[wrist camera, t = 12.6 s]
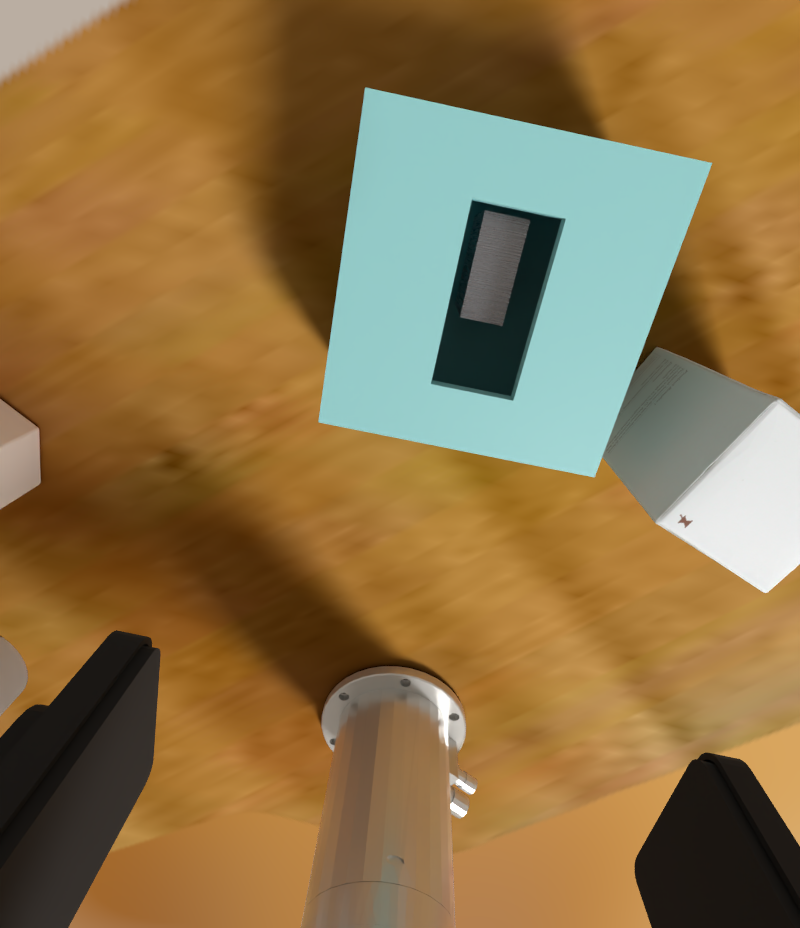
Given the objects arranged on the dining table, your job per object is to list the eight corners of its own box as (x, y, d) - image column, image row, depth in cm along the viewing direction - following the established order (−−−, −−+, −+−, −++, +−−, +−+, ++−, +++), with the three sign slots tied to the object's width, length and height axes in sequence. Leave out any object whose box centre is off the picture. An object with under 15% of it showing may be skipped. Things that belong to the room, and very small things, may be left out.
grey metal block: (530, 219, 25) (502, 325, 27) (512, 222, 31) (489, 310, 33) (484, 209, 25) (459, 317, 27) (475, 214, 31) (454, 303, 33)
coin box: (626, 185, 30) (712, 163, 21) (552, 415, 36) (594, 477, 27) (385, 132, 30) (365, 87, 21) (347, 374, 35) (318, 422, 26)
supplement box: (660, 488, 38) (763, 601, 26) (579, 431, 36) (650, 523, 25) (742, 405, 35) (897, 489, 23) (658, 340, 34) (779, 395, 22)
